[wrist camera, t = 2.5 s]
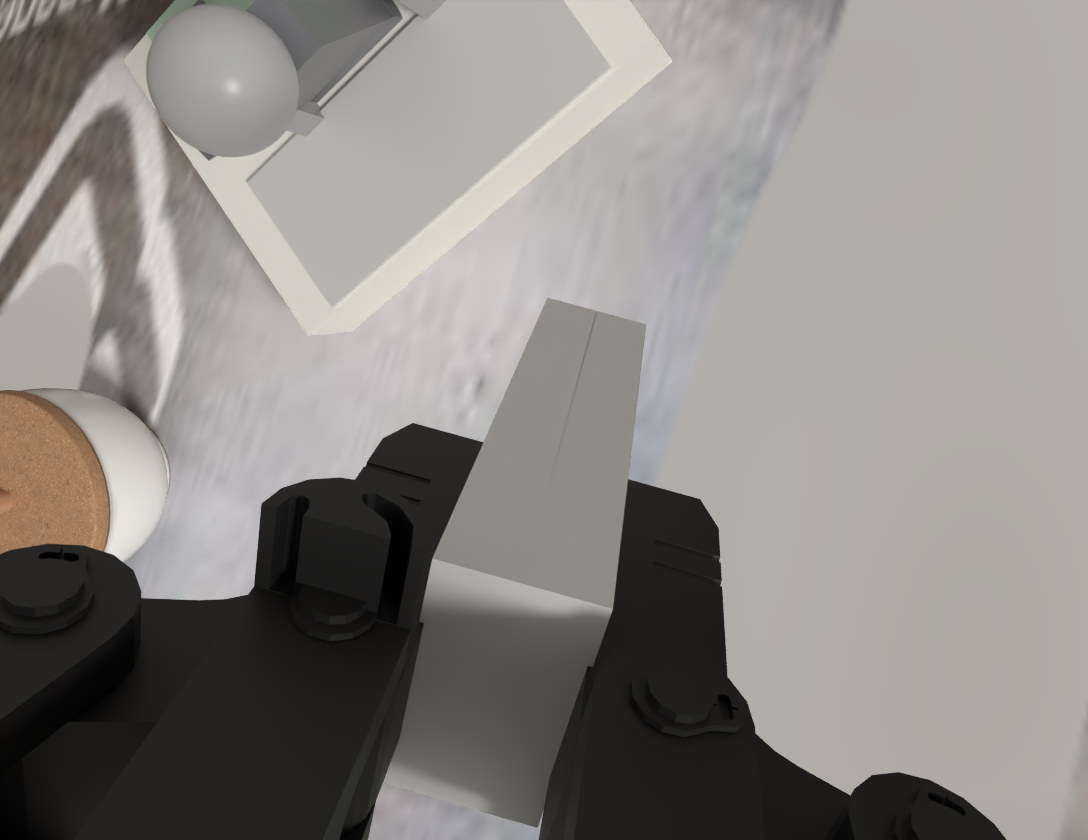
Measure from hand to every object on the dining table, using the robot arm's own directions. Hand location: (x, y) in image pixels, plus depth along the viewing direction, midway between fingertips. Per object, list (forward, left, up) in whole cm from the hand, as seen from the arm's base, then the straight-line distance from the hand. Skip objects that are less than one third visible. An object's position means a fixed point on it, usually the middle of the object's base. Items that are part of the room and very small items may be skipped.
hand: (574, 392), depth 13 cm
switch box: (-9, -18, -27) cm, 33 cm away
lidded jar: (+14, -33, -27) cm, 44 cm away
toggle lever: (-9, -18, -22) cm, 30 cm away
